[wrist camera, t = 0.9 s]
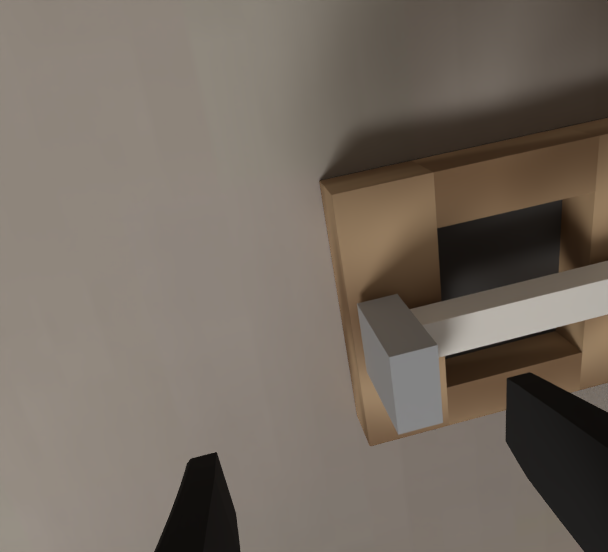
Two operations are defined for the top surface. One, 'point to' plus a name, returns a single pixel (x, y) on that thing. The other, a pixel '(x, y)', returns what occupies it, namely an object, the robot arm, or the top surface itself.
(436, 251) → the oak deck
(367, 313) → the sliding frame
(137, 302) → the top surface
